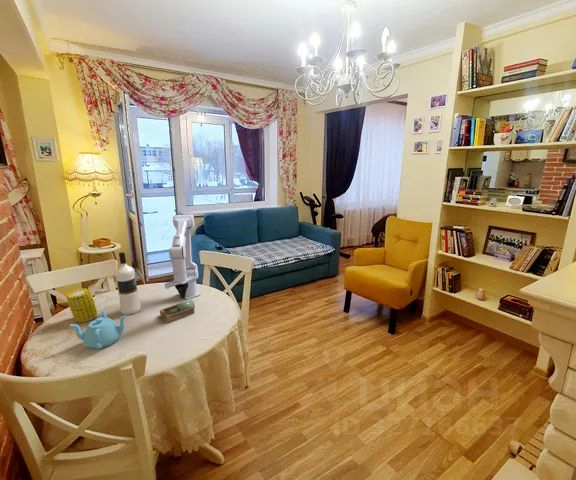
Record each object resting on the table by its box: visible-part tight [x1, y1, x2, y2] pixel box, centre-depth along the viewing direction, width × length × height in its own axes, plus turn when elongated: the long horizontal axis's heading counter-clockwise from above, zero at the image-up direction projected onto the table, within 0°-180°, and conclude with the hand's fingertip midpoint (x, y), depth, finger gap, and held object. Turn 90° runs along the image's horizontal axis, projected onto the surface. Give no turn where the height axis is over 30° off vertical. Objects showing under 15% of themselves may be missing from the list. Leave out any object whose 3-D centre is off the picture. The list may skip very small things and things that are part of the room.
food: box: [65, 287, 98, 323], centre depth 139 cm, size 15×12×10 cm
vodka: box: [114, 251, 142, 316], centre depth 144 cm, size 9×9×30 cm
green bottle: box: [169, 299, 196, 315], centre depth 144 cm, size 5×5×11 cm
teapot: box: [69, 308, 128, 350], centre depth 121 cm, size 15×15×10 cm
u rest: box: [159, 301, 195, 324], centre depth 142 cm, size 9×13×3 cm
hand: (182, 298), depth 143 cm, fingers closed
